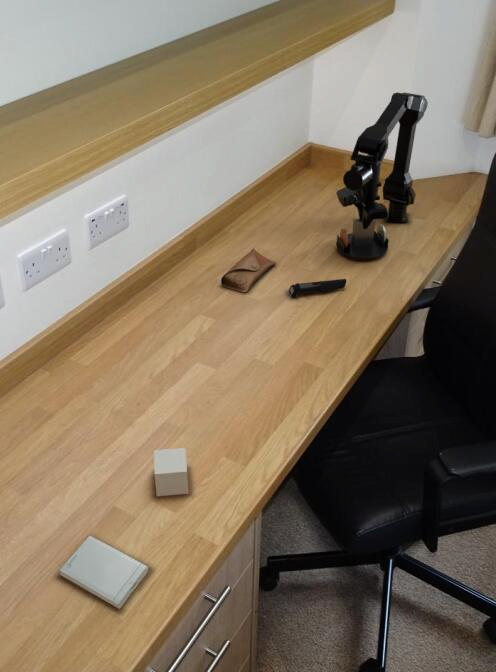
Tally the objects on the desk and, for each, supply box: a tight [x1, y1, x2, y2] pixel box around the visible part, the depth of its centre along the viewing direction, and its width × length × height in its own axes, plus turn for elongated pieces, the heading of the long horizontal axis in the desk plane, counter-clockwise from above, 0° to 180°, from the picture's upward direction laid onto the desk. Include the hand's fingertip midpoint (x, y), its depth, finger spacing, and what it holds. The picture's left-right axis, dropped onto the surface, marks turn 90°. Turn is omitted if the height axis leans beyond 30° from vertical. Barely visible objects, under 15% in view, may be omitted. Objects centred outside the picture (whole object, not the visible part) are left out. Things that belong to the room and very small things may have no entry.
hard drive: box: [59, 535, 149, 610], centre depth 118 cm, size 2×8×12 cm
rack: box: [335, 218, 390, 260], centre depth 204 cm, size 15×15×9 cm
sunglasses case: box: [220, 248, 276, 293], centre depth 196 cm, size 18×7×7 cm
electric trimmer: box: [288, 278, 347, 298], centre depth 188 cm, size 4×16×3 cm, turn 100°
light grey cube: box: [153, 447, 189, 497], centre depth 133 cm, size 6×6×6 cm
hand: (363, 227), depth 203 cm, fingers closed on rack
